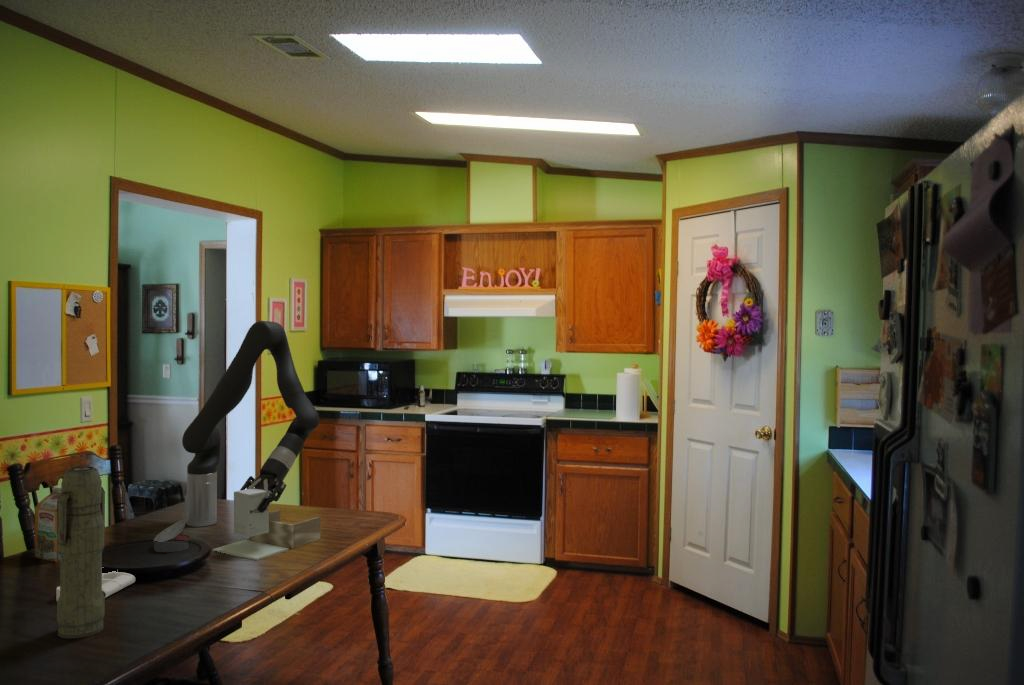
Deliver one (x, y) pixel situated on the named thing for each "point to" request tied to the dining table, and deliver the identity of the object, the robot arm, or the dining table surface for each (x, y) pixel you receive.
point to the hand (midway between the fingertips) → (249, 509)
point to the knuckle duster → (111, 582)
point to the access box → (289, 532)
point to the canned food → (173, 532)
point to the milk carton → (47, 527)
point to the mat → (251, 549)
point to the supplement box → (250, 513)
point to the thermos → (80, 553)
